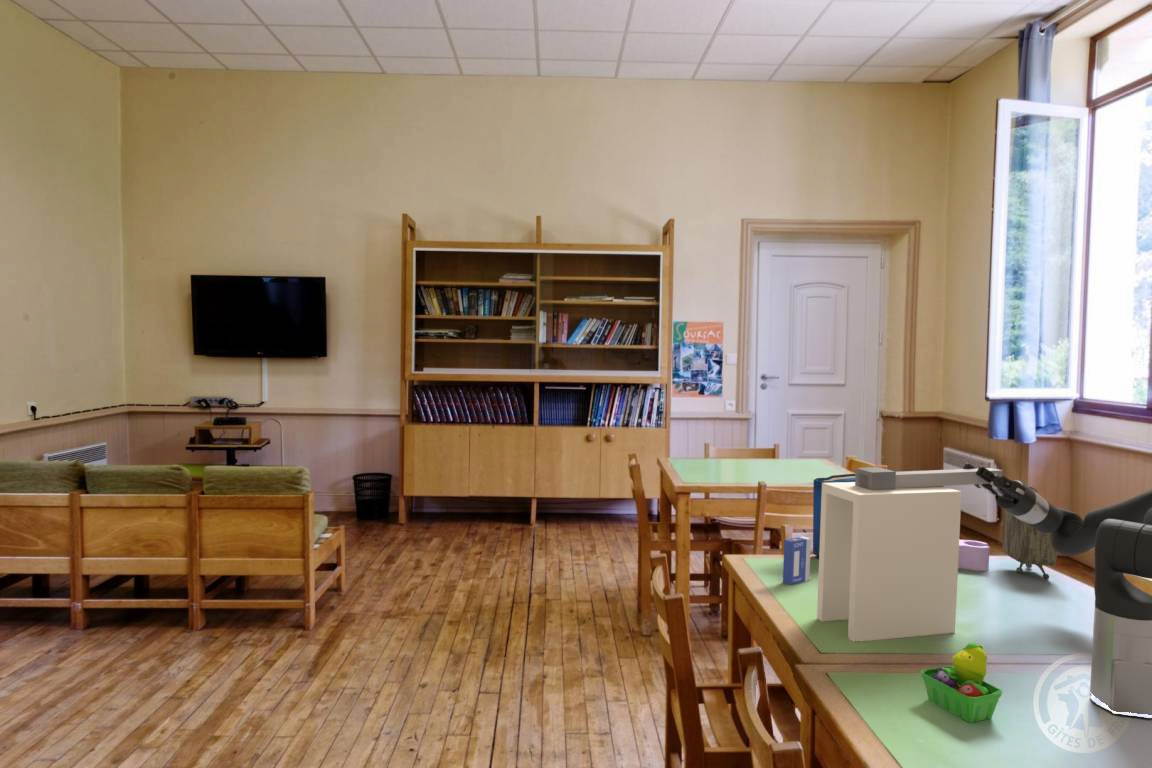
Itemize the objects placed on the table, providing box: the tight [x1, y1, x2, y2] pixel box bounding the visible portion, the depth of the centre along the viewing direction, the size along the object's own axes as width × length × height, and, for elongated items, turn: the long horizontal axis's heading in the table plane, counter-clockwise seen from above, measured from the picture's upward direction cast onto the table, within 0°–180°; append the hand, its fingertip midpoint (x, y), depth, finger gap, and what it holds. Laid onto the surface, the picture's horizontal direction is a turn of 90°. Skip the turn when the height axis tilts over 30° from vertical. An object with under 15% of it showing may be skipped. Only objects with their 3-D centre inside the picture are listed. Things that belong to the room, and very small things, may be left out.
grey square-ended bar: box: [854, 466, 1003, 490], centre depth 170 cm, size 36×6×4 cm, turn 104°
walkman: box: [782, 535, 812, 586], centre depth 200 cm, size 8×3×12 cm, turn 123°
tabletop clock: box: [1001, 486, 1058, 580], centre depth 211 cm, size 14×9×25 cm, turn 171°
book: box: [812, 473, 855, 558], centre depth 224 cm, size 22×7×25 cm, turn 105°
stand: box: [816, 482, 963, 643], centre depth 168 cm, size 26×14×32 cm, turn 104°
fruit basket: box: [920, 642, 1003, 724], centre depth 130 cm, size 11×9×11 cm
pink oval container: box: [958, 538, 991, 572], centre depth 220 cm, size 20×12×7 cm, turn 68°
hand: (972, 468), depth 173 cm, fingers open, 3 cm apart
